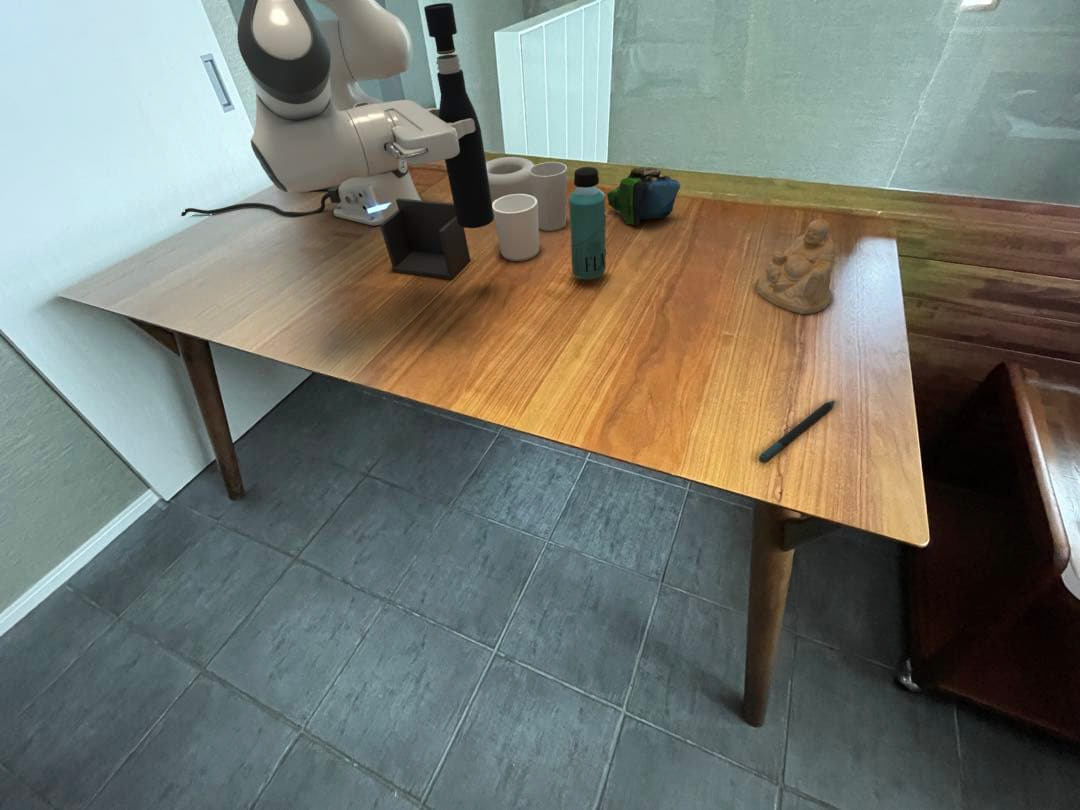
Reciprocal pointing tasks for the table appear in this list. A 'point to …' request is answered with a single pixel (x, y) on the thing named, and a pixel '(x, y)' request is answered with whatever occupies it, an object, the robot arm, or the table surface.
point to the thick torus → (509, 177)
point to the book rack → (425, 239)
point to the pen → (795, 431)
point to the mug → (517, 226)
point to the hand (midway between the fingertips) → (463, 118)
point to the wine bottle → (455, 104)
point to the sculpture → (644, 195)
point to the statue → (801, 272)
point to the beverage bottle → (587, 225)
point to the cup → (550, 194)
